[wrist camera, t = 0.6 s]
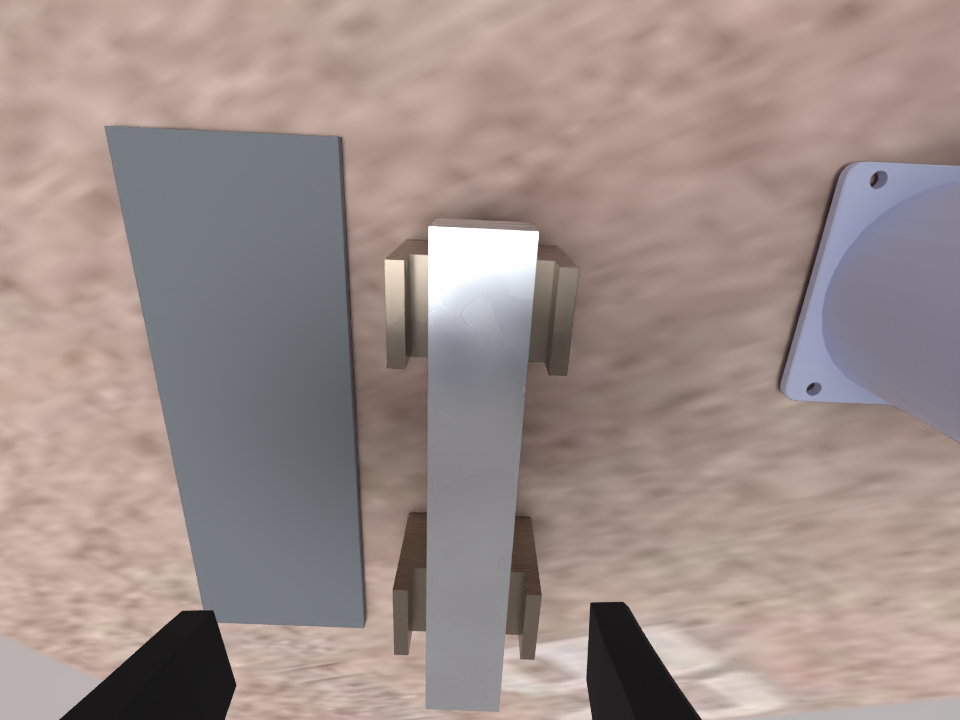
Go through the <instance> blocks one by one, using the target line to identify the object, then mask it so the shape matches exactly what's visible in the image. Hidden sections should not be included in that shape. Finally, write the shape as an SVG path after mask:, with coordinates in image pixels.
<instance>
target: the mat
mask: <svg viewBox="0 0 960 720" xmlns="http://www.w3.org/2000/svg"><path fill="white" fill-rule="evenodd" d="M105 131H106V136H107V141H108V146H109V151H110V156H111V161H112V165H113V170H114V175H115V180H116V185H117V190H118V195H119V200H120V204H121V209H122V214H123V219H124V224H125V229H126V234H127V239H128V243H129V248H130V253H131V258H132V263H133V268H134V273H135V278H136V283H137V287H138V292H139V297H140V302H141V307H142V312H143V317H144V322H145V326H146V331H147V336H148V341H149V346H150V351H151V356H152V361H153V366H154V370H155V375H156V380H157V385H158V390H159V395H160V400H161V405H162V409H163V414H164V419H165V424H166V429H167V434H168V439H169V444H170V449H171V453H172V458H173V463H174V468H175V473H176V478H177V483H178V488H179V492H180V497H181V502H182V507H183V512H184V517H185V522H186V527H187V532H188V536H189V541H190V546H191V551H192V556H193V561H194V566H195V571H196V575H197V580H198V585H199V590H200V595H201V600H202V605H203V610H214V614H215V617H216V620H217V623H241V624H268V625H295V626H322V627H349V628H364V626H365V622H366V610H365V590H364V571H363V551H362V532H361V512H360V493H359V473H358V453H357V434H356V414H355V395H354V375H353V356H352V336H351V317H350V297H349V277H348V258H347V238H346V219H345V199H344V180H343V160H342V140H341V137H331V136H310V135H288V134H267V133H246V132H225V131H203V130H182V129H161V128H140V127H119V126H105Z"/></svg>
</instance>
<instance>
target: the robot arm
mask: <svg viewBox="0 0 960 720" xmlns="http://www.w3.org/2000/svg"><path fill="white" fill-rule="evenodd" d="M874 173H877V174H878V181H877V182H876V184H875V185H874V186H873V187H871V185H870V179H871V177H872V175H873V174H874ZM811 383H815V385H814V387H813V388H812V389H811V390H809V391H806V389H807V387H808V385H810V384H811ZM780 390H781V392H782V394H784V395H785V396H786V397H788V398H789V399H790V400H794V401H813V402H837V403H861V404H885V405H894V406H895V407H897V408H899V409H901V410H902V411H904V412H906V413H908V414H909V415H911V416H913V417H915V418H916V419H918V420H920V421H922V422H923V423H925V424H927V425H929V426H930V427H932V428H934V429H936V430H937V431H939V432H941V433H943V434H944V435H946V436H948V437H949V438H951V439H953V440H955V441H956V442H958V443H960V166H952V165H930V164H909V163H888V162H867V161H866V162H854V163H852V164H850V165H848V166H847V167H846V168H845V169H844V170H843V171H842V172H841V174H840V176H839V179H838V182H837V186H836V189H835V193H834V196H833V200H832V203H831V207H830V211H829V214H828V218H827V221H826V225H825V228H824V232H823V235H822V239H821V242H820V246H819V250H818V253H817V257H816V260H815V264H814V267H813V271H812V274H811V278H810V281H809V285H808V288H807V292H806V296H805V299H804V303H803V306H802V310H801V313H800V317H799V320H798V324H797V327H796V331H795V335H794V338H793V342H792V345H791V349H790V352H789V356H788V359H787V363H786V366H785V370H784V373H783V377H782V381H781V384H780ZM586 680H587V687H588V693H589V700H590V707H591V713H592V720H702V719H701V718H700V716H699V715H698V714H697V712H696V711H695V709H694V708H693V707H692V705H691V704H690V702H689V701H688V700H687V698H686V697H685V695H684V694H683V692H682V691H681V690H680V688H679V687H678V685H677V684H676V682H675V681H674V679H673V678H672V676H671V675H670V673H669V672H668V670H667V669H666V667H665V666H664V664H663V663H662V661H661V659H660V658H659V656H658V655H657V653H656V652H655V650H654V649H653V647H652V645H651V644H650V642H649V641H648V639H647V637H646V636H645V634H644V632H643V631H642V629H641V627H640V626H639V624H638V622H637V621H636V619H635V617H634V616H633V614H632V612H631V610H630V608H629V607H628V606H627V605H626V604H625V603H624V602H595V603H590V621H589V640H588V659H587V678H586ZM235 688H236V682H235V679H234V676H233V672H232V669H231V666H230V663H229V659H228V656H227V653H226V650H225V646H224V643H223V640H222V636H221V633H220V630H219V627H218V623H217V620H216V617H215V614H214V610H198V611H182V612H180V613H179V614H178V615H177V616H176V617H175V618H173V619H172V620H171V621H170V622H169V623H168V624H166V625H165V626H164V627H163V628H162V629H161V630H160V631H158V632H157V633H156V634H155V635H154V636H153V637H152V638H151V639H150V640H148V641H147V642H146V643H145V644H144V645H143V646H142V647H141V648H139V649H138V650H137V651H136V652H135V653H134V654H133V655H132V656H131V657H129V658H128V659H127V660H126V661H125V662H124V663H123V664H122V665H121V666H119V667H118V668H117V669H116V670H115V671H114V672H113V673H112V674H111V675H109V676H108V677H107V678H106V679H105V680H104V681H103V682H102V683H100V684H99V685H98V686H97V687H96V688H95V689H94V690H92V691H91V692H90V693H89V694H88V695H87V696H86V697H85V698H83V699H82V700H81V701H80V702H79V703H78V704H77V705H76V706H74V707H73V708H72V709H71V710H70V711H69V712H68V713H66V714H65V715H64V716H63V717H62V718H61V719H60V720H225V717H226V714H227V711H228V708H229V705H230V703H231V700H232V697H233V694H234V691H235Z"/></svg>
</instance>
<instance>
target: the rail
mask: <svg viewBox="0 0 960 720" xmlns="http://www.w3.org/2000/svg"><path fill="white" fill-rule="evenodd" d="M538 237H539V231H538V230H537V229H536V228H535V227H534V226H533V225H532V224H531V222H515V221H493V220H471V219H449V218H437V219H436V220H435V221H434V222H433V223H432V224H431V225H430V226H429V281H428V431H427V582H426V709H437V710H466V711H494V712H499V704H500V692H501V680H502V668H503V656H504V644H505V632H506V620H507V608H508V596H509V584H510V572H511V560H512V548H513V536H514V524H515V512H516V500H517V488H518V476H519V464H520V452H521V440H522V428H523V416H524V404H525V392H526V380H527V368H528V356H529V344H530V332H531V320H532V308H533V297H534V285H535V273H536V261H537V249H538Z"/></svg>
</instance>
